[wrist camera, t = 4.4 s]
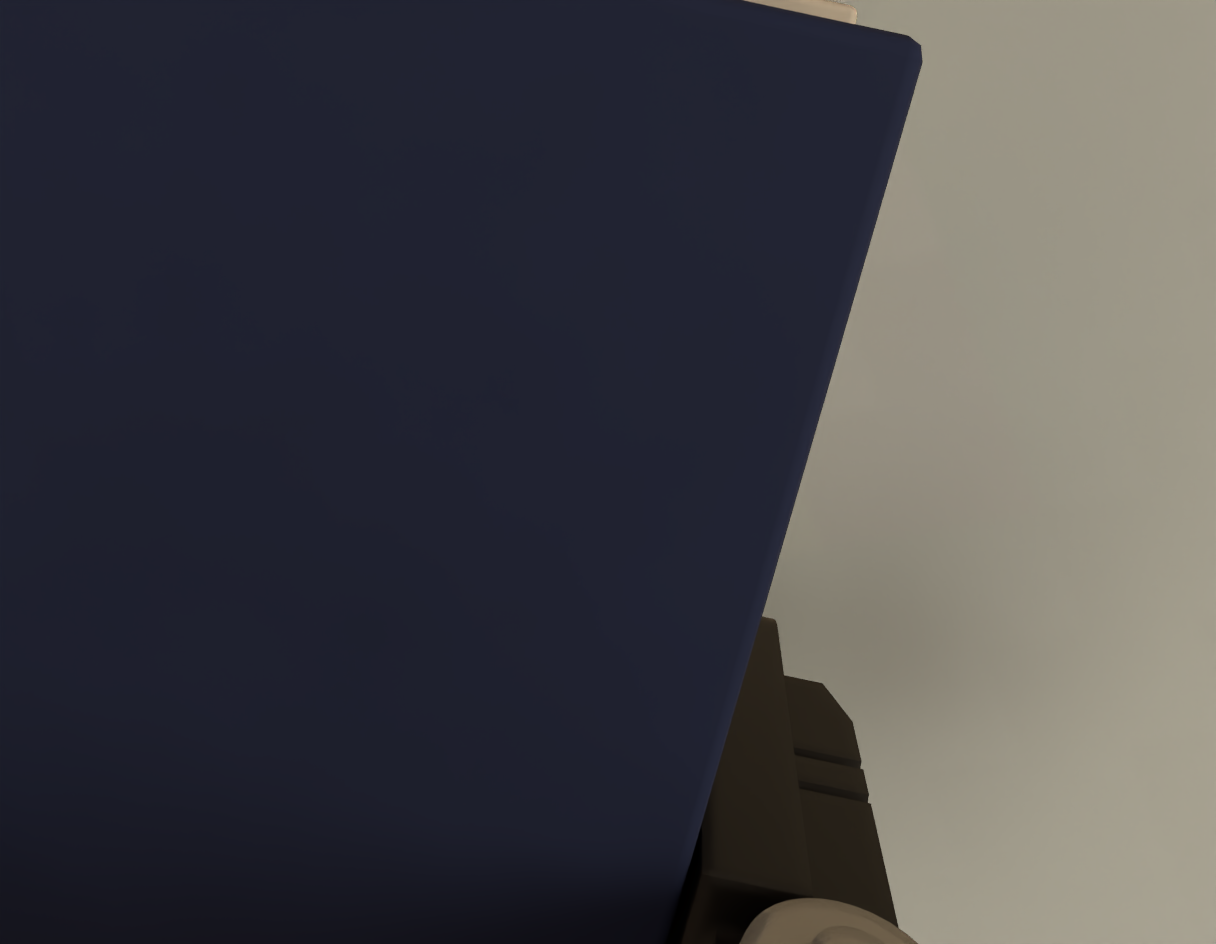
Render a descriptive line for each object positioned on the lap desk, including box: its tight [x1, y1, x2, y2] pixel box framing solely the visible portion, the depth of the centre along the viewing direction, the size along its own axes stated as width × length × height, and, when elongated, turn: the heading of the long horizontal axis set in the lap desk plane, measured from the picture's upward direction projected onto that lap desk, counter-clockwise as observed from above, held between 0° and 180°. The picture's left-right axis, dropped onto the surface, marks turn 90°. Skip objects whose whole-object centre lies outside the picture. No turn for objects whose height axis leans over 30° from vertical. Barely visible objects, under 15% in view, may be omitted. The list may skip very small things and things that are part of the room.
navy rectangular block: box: [0, 0, 922, 944], centre depth 9 cm, size 12×5×5 cm, turn 169°
